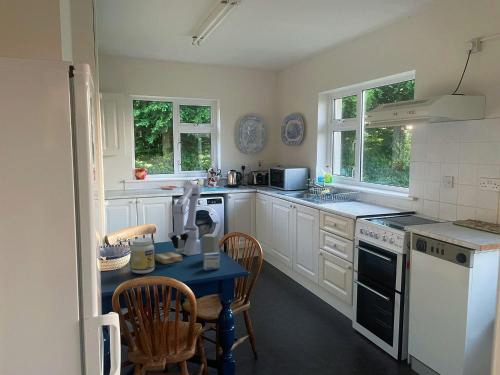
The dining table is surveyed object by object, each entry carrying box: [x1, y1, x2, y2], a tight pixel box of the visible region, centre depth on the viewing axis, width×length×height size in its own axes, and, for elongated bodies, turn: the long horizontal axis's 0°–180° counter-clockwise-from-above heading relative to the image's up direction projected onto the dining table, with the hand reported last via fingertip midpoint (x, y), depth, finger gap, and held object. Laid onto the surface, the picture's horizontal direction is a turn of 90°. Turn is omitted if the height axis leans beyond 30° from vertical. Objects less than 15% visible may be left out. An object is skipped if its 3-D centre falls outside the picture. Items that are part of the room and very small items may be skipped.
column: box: [174, 238, 185, 254], centre depth 220 cm, size 4×4×7 cm
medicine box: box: [202, 252, 220, 271], centre depth 209 cm, size 8×4×9 cm, turn 114°
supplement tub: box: [130, 237, 156, 274], centre depth 205 cm, size 12×12×17 cm
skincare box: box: [201, 233, 221, 262], centre depth 223 cm, size 8×7×16 cm
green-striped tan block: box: [154, 251, 184, 265], centre depth 226 cm, size 12×12×3 cm
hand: (179, 247), depth 220 cm, fingers open, 5 cm apart
